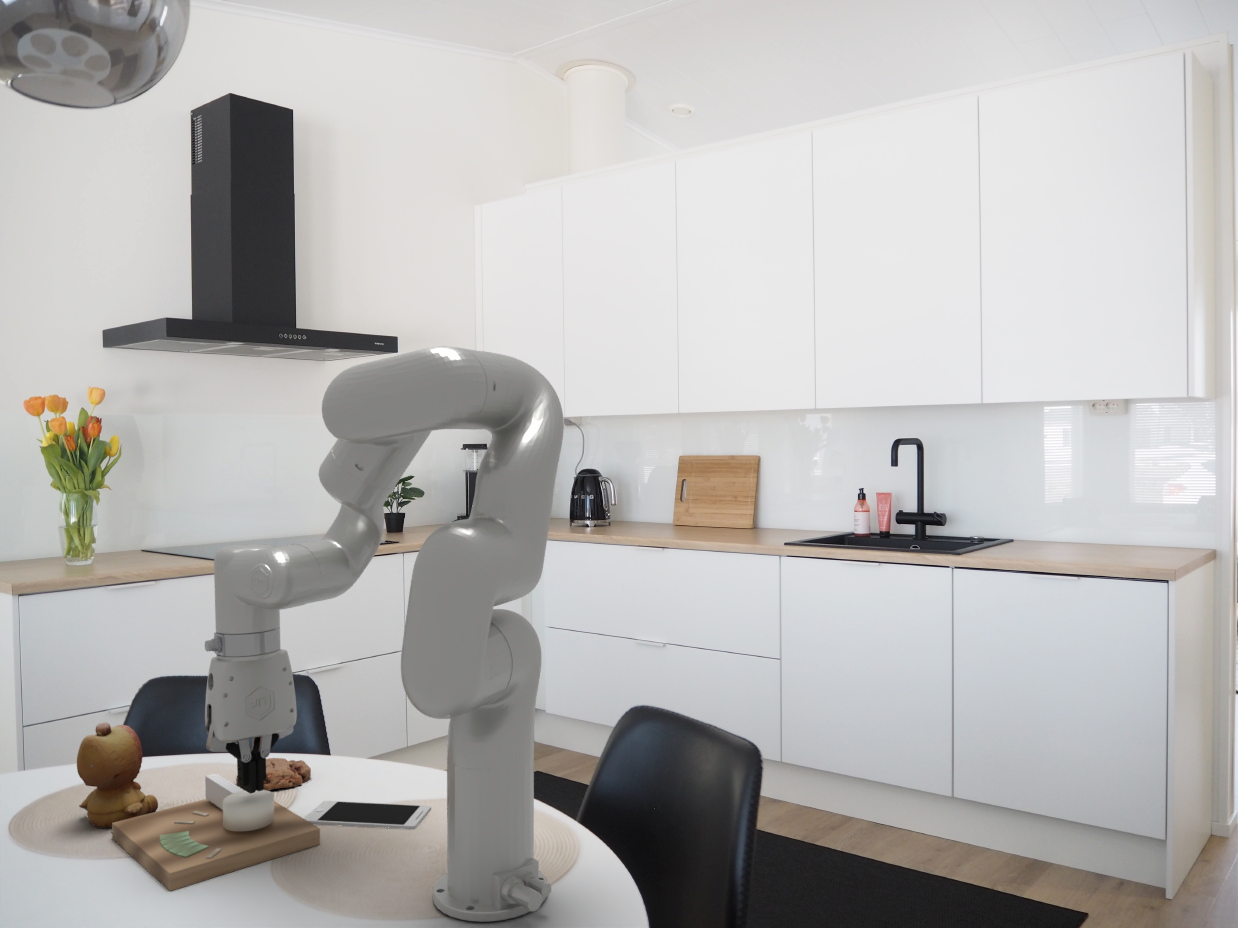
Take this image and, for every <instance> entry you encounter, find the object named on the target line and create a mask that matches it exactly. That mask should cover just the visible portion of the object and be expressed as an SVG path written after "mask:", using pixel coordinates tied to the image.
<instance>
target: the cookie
mask: <svg viewBox="0 0 1238 928" xmlns="http://www.w3.org/2000/svg"><path fill="white" fill-rule="evenodd" d="M311 773H312V771H311V767H310V766H309V765H308V764H307V763H306V762H305V761H304V760H302V759H301V760H300V759H299V760H294V759H292V760H287V759H286V758H282V757H271V758H270V757H269V758H266V780H265V781H264V790H267V791H273V790H275V789H280V788H281V789H282V788H284V789H285V788H291V787H298V786H302V785H303V784H304V783H307V782H308V781H309V780H310V778H311V775H312V774H311ZM235 778H236V779H235V781H236V785H239V784H238V774H237V776H236V777H235Z"/></svg>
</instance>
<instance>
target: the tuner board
mask: <svg viewBox="0 0 1238 928" xmlns="http://www.w3.org/2000/svg"><path fill="white" fill-rule="evenodd" d="M244 791H245V790H244ZM111 839H112V840H113V841H114V842H116V843H117V844H118V845H119V846H120V847H121V849H123V850H124V851H125V852H126V853H128V854H129V855H130V856H131V857H132V858H133V859H134V860H136V862H137V863H138V864H140V866H142V867H143V868H144V869H145V870H146V871H147V872H148V873H149V874H151V875H152V876H153V878H155V879H156V880H157V881H158V882H159V883H160V884H161V885H163V886H164V887H165V888H166V889H167V890H168V891H169V892H171V891H175V890H177V889H181V888H184V887H188V886H191V885H194V884H198V883H200V882H203V881H206V880H210V879H214V878H216V877H219V876H223V875H226V874H229V873H233V872H236V871H239V870H242V869H246V868H249V867H252V866H254V865H255V866H256V865H258V864H261V863H264V862H267V861H271V860H275V859H277V858H281V857H284V856H287V855H290V854H293V853H296V852H300V851H302V850H306V849H310V848H312V847H315V846H318V845H321V828H320V827H318V825H315V824H312V823H310V822H308V821H307V820H305V819H304V817H302V816H300V815H298V814H297V813H295V812H293V811H292V810H290V809H288V808H286V807H285V806H283V805H282V804H281V803H278V802H276V801H275V800H274V821H273V822H272V823H271V824H269V825H267V826H265V827H263V828H260V829H256V830H251V831H230V830H227V829H225V828H224V827H223V809H221V808H220V807H218V806H217V805H215V804H214V803H212V802H211V801H209V800H208V799H206V798H205V799H200V800H197V801H192V802H189V803H185V804H180V805H178V806H173V807H169V808H165V809H161V810H156V811H155V812H153V813H149V814H145V815H141V816H137V817H133V818H130V819H126V820H122V821H118V822H114V823H112V828H111Z"/></svg>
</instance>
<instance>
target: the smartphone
mask: <svg viewBox="0 0 1238 928" xmlns="http://www.w3.org/2000/svg"><path fill="white" fill-rule="evenodd" d="M431 811H432V806H431V805H425V804H424V805H423V804H422V805H421V804H399V803H379V802H377V803H376V802H362V801H361V802H359V801H358V802H357V801H344V800H343V801H342V800H341V801H340V800H338V801H337V800H324V801H322V802H321V803H320V804H318V805H317V807H315V808H314V809H313V810H312V811H311V812H310V813H308V814H307V815H306V816H305V817H303V819H305V820H307V821H308V822H310V823H312V824H313V825H315V826H320V825H321V826H334V825H342V826H341V827H354V826H357V827H358V828H374V827H384V828H383V829H393V828H398V830H400V829H399V828H403V829H402V830H416V829H417V827H418V826H419V825H420V824H419V823H422V821H423V820H424V819H425V818H426V817H427V816H428V814H429V813H430V812H431ZM418 824H419V825H418ZM417 825H418V826H417ZM357 827H356V828H357ZM385 827H386V828H385ZM388 827H389V828H388ZM404 828H405V829H404ZM415 828H416V829H415Z"/></svg>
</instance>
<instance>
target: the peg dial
mask: <svg viewBox="0 0 1238 928" xmlns="http://www.w3.org/2000/svg"><path fill="white" fill-rule="evenodd" d="M204 781H205V799H208V800H209V801H211V802H212V803H214V804H215V805H217V806H218V807H220V808H221V809H223V827H224V828H225V829H227V830H230V831H251V830H256V829H260V828H263V827H265V826H267V825H269V824H271V823H272V822H273V821H274V801H275V795H274V793H273V792H272V791H271V790H262V791H257V790H256V791H255V793H251V794H250V793H248V792H247V791H244V790H243V789H242V788H241V787H240V786H239V787H238V786H237V784H236V785H235V784H234V783H232V782H231V781H229V780H227V779H226V778H224V777H223V776H221V775H219V774H218V773H213V774H212V773H211V774H207V775H205V780H204Z"/></svg>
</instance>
